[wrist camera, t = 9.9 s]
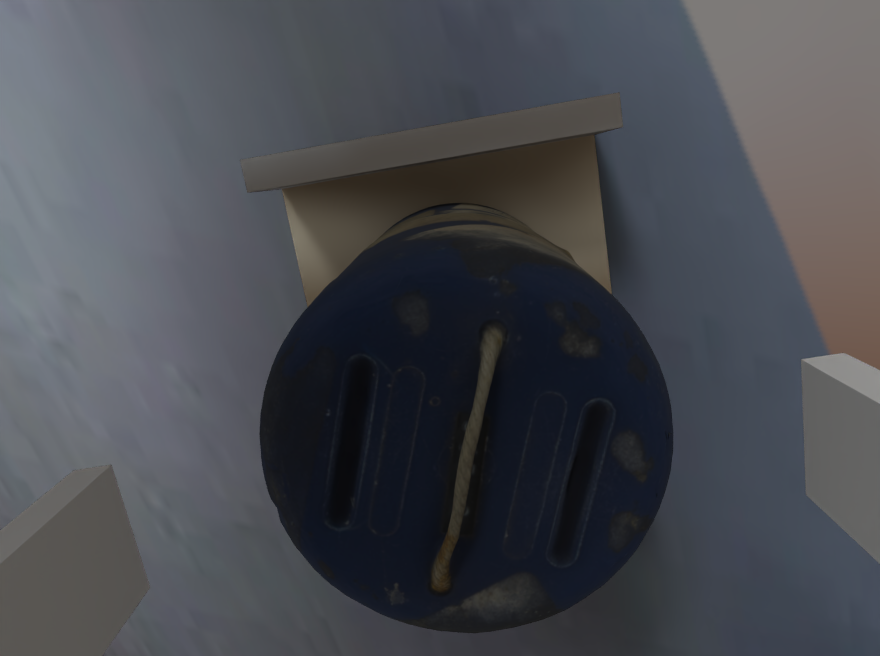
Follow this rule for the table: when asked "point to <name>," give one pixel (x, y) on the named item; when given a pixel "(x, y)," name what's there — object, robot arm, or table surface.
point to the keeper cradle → (447, 182)
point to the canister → (466, 426)
